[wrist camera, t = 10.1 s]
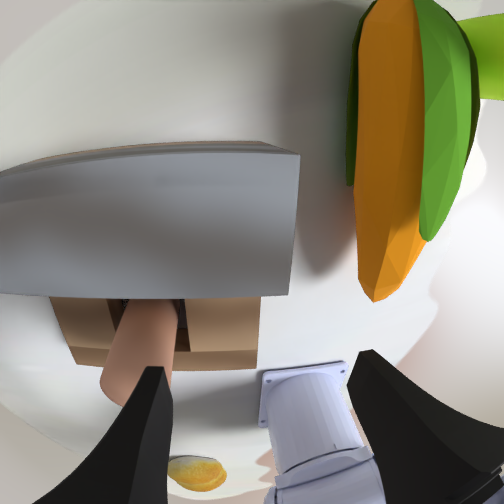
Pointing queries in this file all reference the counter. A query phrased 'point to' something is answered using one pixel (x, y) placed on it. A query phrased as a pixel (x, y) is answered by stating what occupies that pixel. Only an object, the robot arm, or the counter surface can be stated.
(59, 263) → the socket station
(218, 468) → the bread roll
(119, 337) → the peg
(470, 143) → the corn
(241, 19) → the counter surface
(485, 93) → the soap dispenser
